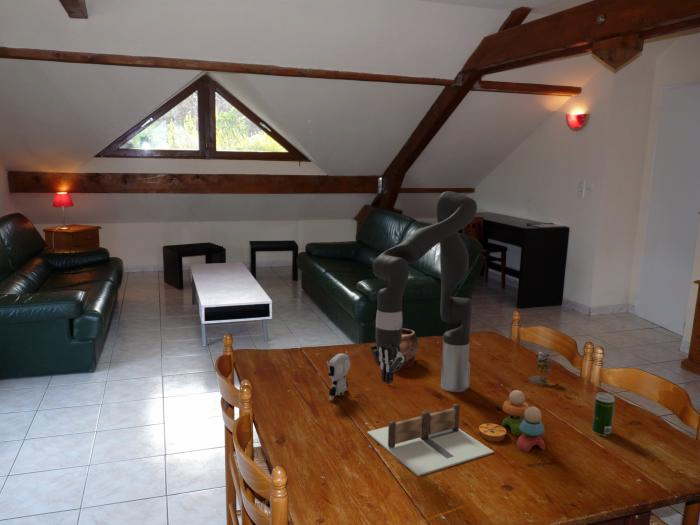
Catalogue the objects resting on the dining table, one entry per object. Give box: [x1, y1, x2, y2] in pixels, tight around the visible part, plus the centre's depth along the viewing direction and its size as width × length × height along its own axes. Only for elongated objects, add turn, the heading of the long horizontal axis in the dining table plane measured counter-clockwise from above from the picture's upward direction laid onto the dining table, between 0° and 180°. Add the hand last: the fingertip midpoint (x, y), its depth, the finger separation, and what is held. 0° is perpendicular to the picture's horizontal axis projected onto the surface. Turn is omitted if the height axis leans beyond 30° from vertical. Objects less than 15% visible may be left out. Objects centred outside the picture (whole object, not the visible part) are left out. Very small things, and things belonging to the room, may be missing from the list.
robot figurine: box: [527, 351, 553, 387], centre depth 208 cm, size 11×9×12 cm
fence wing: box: [388, 416, 422, 447], centre depth 161 cm, size 11×2×7 cm, turn 119°
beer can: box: [591, 392, 616, 436], centre depth 170 cm, size 5×5×12 cm
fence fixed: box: [420, 403, 461, 440], centre depth 167 cm, size 14×2×8 cm, turn 119°
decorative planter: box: [390, 328, 419, 369], centre depth 225 cm, size 20×12×14 cm, turn 153°
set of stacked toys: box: [478, 389, 546, 453], centre depth 166 cm, size 18×17×12 cm
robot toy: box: [326, 350, 351, 401], centre depth 193 cm, size 12×4×15 cm, turn 149°
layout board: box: [366, 425, 494, 477], centre depth 164 cm, size 26×26×1 cm
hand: (387, 382), depth 164 cm, fingers closed
